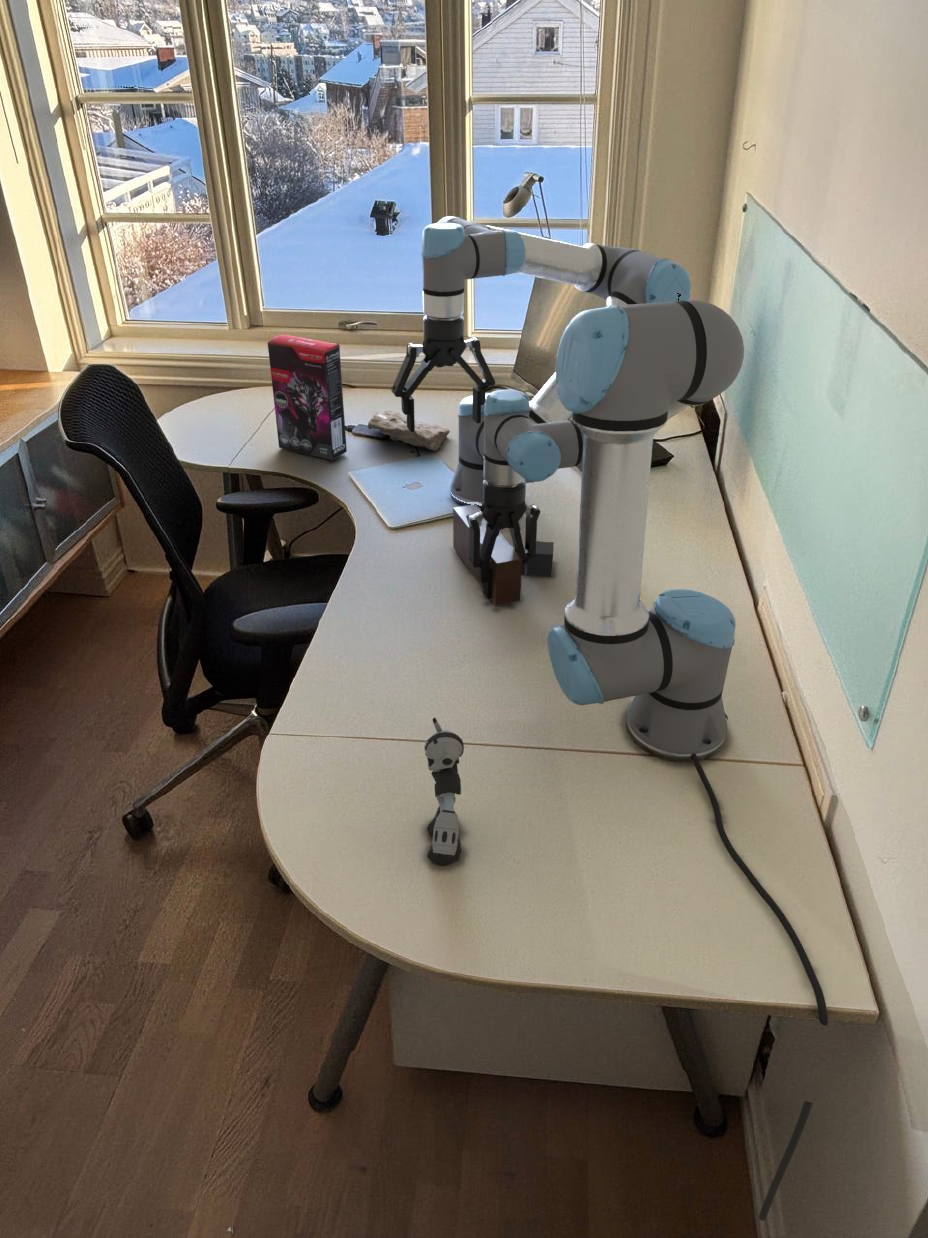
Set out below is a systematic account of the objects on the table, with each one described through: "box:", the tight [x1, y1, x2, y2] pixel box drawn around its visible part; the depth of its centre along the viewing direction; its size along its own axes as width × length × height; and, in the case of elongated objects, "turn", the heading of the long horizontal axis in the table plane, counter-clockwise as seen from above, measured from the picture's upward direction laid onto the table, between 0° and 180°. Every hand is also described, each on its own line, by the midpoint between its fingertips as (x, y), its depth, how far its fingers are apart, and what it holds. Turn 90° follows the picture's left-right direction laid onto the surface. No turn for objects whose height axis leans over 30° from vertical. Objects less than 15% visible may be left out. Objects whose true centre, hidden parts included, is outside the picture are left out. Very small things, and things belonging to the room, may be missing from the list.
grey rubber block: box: [525, 540, 555, 577], centre depth 182 cm, size 5×5×5 cm
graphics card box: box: [267, 333, 348, 461], centre depth 223 cm, size 17×7×27 cm, turn 62°
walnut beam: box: [452, 504, 522, 606], centre depth 178 cm, size 24×5×9 cm, turn 20°
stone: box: [367, 410, 451, 451], centre depth 235 cm, size 21×15×6 cm
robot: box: [423, 717, 465, 867], centre depth 118 cm, size 20×5×20 cm, turn 3°
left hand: (444, 425), depth 181 cm, fingers open, 13 cm apart
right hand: (501, 592), depth 174 cm, fingers closed on walnut beam, 5 cm apart
